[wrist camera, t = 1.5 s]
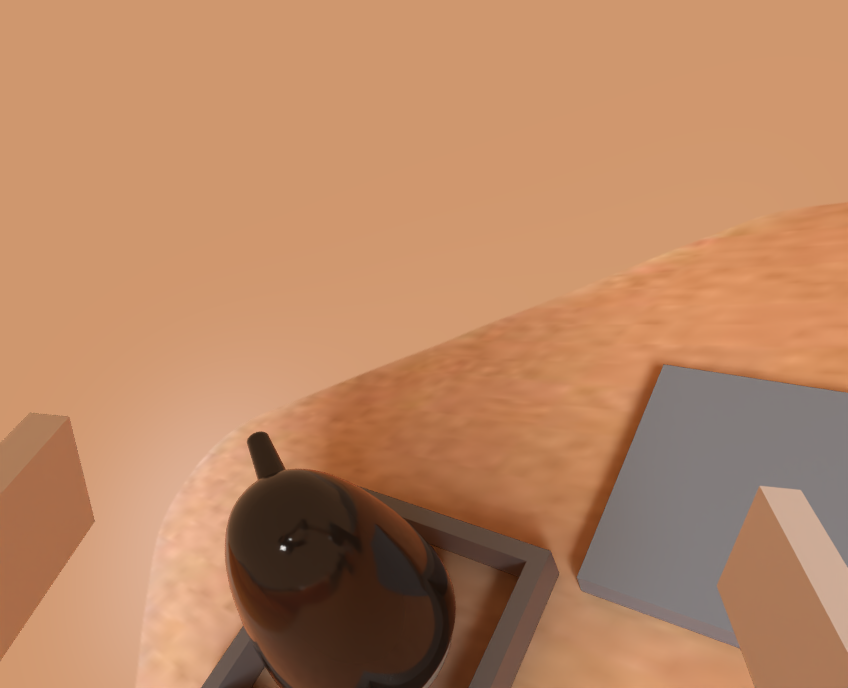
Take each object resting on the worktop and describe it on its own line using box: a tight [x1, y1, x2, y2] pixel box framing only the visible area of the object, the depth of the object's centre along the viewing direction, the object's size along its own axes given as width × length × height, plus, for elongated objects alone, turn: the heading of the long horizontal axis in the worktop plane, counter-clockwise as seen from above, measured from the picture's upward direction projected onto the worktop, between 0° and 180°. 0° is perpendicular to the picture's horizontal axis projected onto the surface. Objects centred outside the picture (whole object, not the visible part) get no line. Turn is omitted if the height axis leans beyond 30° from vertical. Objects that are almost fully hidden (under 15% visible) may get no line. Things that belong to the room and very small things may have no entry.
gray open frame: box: [201, 486, 559, 688], centre depth 37 cm, size 15×15×2 cm
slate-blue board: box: [577, 365, 848, 648], centre depth 36 cm, size 16×16×2 cm
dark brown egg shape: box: [225, 432, 456, 688], centre depth 33 cm, size 10×10×15 cm
